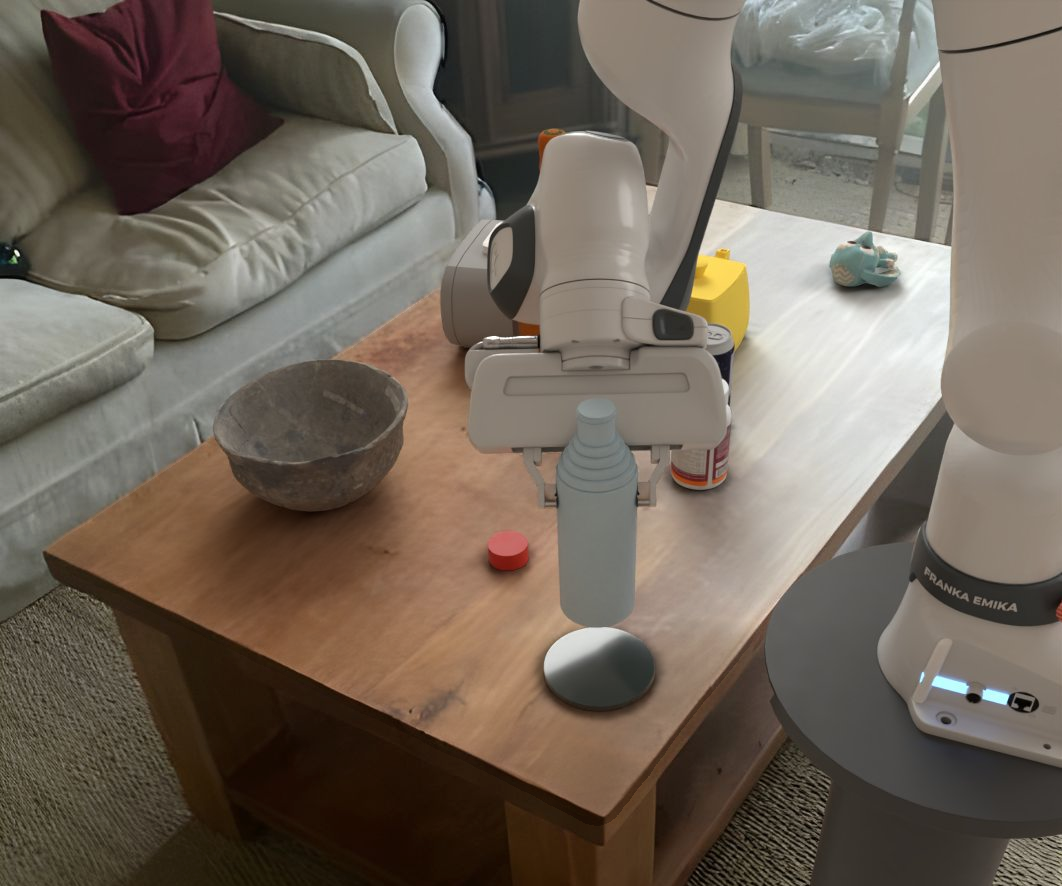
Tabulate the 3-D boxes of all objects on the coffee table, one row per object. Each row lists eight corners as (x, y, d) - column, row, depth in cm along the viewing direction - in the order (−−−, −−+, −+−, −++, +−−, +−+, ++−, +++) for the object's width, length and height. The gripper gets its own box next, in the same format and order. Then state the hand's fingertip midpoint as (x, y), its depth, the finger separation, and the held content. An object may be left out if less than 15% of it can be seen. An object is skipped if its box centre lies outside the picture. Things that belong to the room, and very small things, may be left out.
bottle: (554, 582, 96) (546, 390, 83) (625, 573, 97) (629, 380, 84) (567, 632, 91) (561, 436, 78) (642, 622, 92) (648, 425, 79)
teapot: (681, 301, 151) (685, 218, 144) (766, 318, 146) (775, 234, 139) (617, 368, 138) (617, 281, 131) (708, 390, 134) (714, 301, 126)
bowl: (270, 428, 132) (252, 354, 125) (436, 436, 129) (427, 361, 122) (203, 535, 116) (179, 457, 110) (391, 548, 113) (377, 468, 107)
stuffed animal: (931, 237, 151) (881, 247, 144) (916, 287, 155) (866, 300, 148) (866, 215, 157) (815, 224, 150) (853, 264, 161) (803, 275, 154)
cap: (527, 543, 113) (526, 529, 111) (529, 569, 110) (528, 554, 108) (488, 546, 113) (487, 532, 111) (489, 572, 110) (488, 557, 108)
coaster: (675, 656, 99) (675, 651, 99) (619, 727, 93) (619, 722, 93) (581, 617, 104) (581, 612, 103) (522, 683, 98) (521, 678, 97)
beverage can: (688, 409, 130) (693, 317, 123) (734, 419, 128) (742, 326, 121) (671, 433, 127) (675, 340, 119) (718, 444, 125) (725, 350, 117)
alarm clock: (493, 291, 156) (485, 199, 147) (557, 297, 154) (554, 204, 145) (444, 363, 141) (433, 265, 133) (515, 371, 139) (508, 272, 130)
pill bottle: (716, 455, 123) (722, 367, 116) (734, 487, 118) (742, 396, 111) (663, 464, 122) (666, 375, 115) (679, 496, 118) (684, 405, 110)
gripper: (460, 325, 84) (461, 504, 83) (728, 318, 83) (732, 499, 82) (468, 348, 91) (469, 514, 90) (718, 342, 89) (721, 510, 89)
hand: (597, 507), depth 86 cm, fingers closed on bottle, 6 cm apart
